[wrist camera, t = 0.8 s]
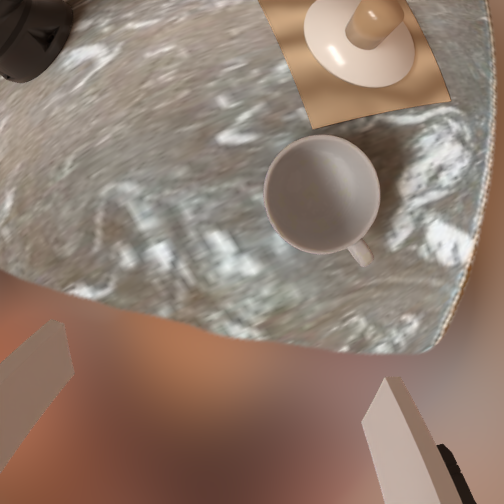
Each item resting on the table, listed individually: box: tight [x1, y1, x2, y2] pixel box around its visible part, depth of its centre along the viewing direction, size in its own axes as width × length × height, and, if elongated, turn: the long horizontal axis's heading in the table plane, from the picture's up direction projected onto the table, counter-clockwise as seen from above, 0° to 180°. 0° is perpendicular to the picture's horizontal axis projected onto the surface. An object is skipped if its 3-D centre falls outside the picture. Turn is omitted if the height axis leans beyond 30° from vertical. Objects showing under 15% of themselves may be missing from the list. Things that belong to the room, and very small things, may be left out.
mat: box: [258, 0, 451, 129], centre depth 27 cm, size 20×20×1 cm
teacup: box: [263, 134, 381, 267], centre depth 29 cm, size 14×11×8 cm
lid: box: [303, 0, 415, 88], centre depth 22 cm, size 14×14×8 cm
